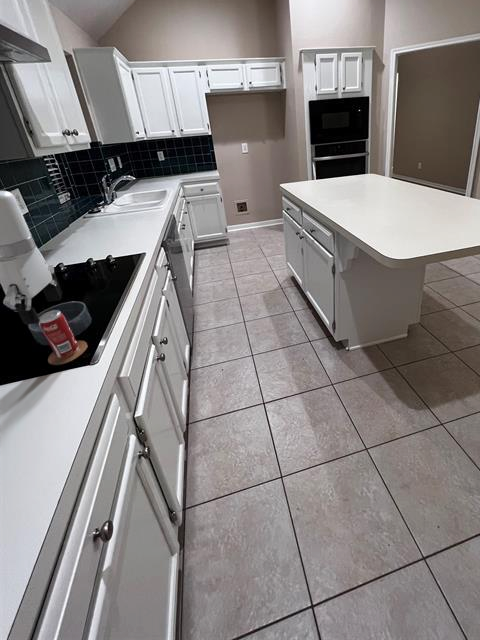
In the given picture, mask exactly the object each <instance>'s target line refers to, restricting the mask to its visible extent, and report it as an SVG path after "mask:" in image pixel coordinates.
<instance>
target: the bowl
mask: <svg viewBox="0 0 480 640" xmlns="http://www.w3.org/2000/svg"><path fill="white" fill-rule="evenodd" d="M53 310H59V311H60V313H62V314H63V315H64V317H65V319H66V321H67V323H68V325H69V327H70V330H71V332H72V334H73V336H74V338H76V337H77V336H79V335H80V334H82V333H83V332H84V331H86V330H87V329H88V328H89V326H90V325H91V324H92V320H93V319H92V317H91V314H90V313H89V309H88V307H87V305H86V304H85V302H82V301H67V302H61V303H59V304H55V305H53V306H51V307H49V308H47V309H44V310H43V311H41V312H40V313H37V315H38V317H40V316H41V315H43V314H44V313H46V312H49V311H53ZM27 326H28V330H29V331H30V333H31V336H33V339H34V340H35V342H36V344H39V345H40V346H50V344H49V342H48V340H47V339H46V337H45V335H44V333H43V331H42V329H41V327H40V325H39V323H36V324H28V325H27Z"/></svg>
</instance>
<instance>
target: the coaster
mask: <svg viewBox="0 0 480 640" xmlns="http://www.w3.org/2000/svg"><path fill="white" fill-rule="evenodd" d="M76 342H77V344H78V350H77V351H76V352H75V353H74V354H73V355H71V356H69V357H67V358H58V357H56V355H55V354H54V352H53V351H52V352H51V353H50V354H49V356H48V358H47V363H48V364H49V365H52V366H62V365H65V364H68V363H70V362H71V363H72V361H74V360H76V359H77V358H79V357H81V356H82V355H83V354H84V353H85V352H86V350H87V349H88V343H87V342H86V341H85V340H76Z"/></svg>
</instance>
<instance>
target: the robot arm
mask: <svg viewBox="0 0 480 640" xmlns="http://www.w3.org/2000/svg"><path fill="white" fill-rule="evenodd" d="M0 285H1V287H2V290H3V292H4V294H5V296H4V299H3V301H2V303H3V305H4V306H6V307H7V308H9V310H11V311H14V312H15V313H18V315H19V317H20V319H21V321H22V323H23V324H24V325H27V326H28V325H29V324H36V323H39V322H40V319H39V317H38V313H37V311H36V309H35V308H34V306H33V307H32V299H33V298H34V297H35V296H37V295H38V294H39V293H40V292H41V291H42V292H43V294H44V296H45V299H46V301H47V302H48V303H51V302H58V301H59V302H60V301H61V300H62V299H63V298H62V295H61V294H60V293H61V292H60V291H59V289H58V286H57V285H58V283H57V281H56V273H55V267H54V265H48V263H47V262H46V260H45V257H44V256H43V255H42V253H41V251H40V250H39V249H38V246H37V245H36V243H35V240H34V237H33V236H32V233H31V231H30V229H29V226H28V224H27V221H26V219H25V217H24V215H23V213H22V211H21V208H20V207H19V203H18V201H17V199H16V198H15V195H14V194H13V193H11V192H10V191H7V190H0ZM22 301H24V304H23V303H22Z"/></svg>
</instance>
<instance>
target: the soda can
mask: <svg viewBox="0 0 480 640" xmlns="http://www.w3.org/2000/svg"><path fill="white" fill-rule="evenodd" d="M39 319H40V322H39V325H40V327H41V329H42V331H43V333H44V335H45V337H46V339H47V340H48V342H49V344H50V345H49V346H50V349H51V350H52V352H54V354H55V355H56V357H58V358H67V357H69V356H71V355H73V354H74V353H75V352H76V351H77V350H78V344H77V342H76V341H77V340H76V337H74V336H73V334H72V332H71V330H70V327H69V325H68V323H67V321H66V319H65V317H64V315H63V314H62V313H60V311H59V310H53V311H49V312H46V313H44V314H43V315H41V316H40V317H39Z"/></svg>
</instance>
